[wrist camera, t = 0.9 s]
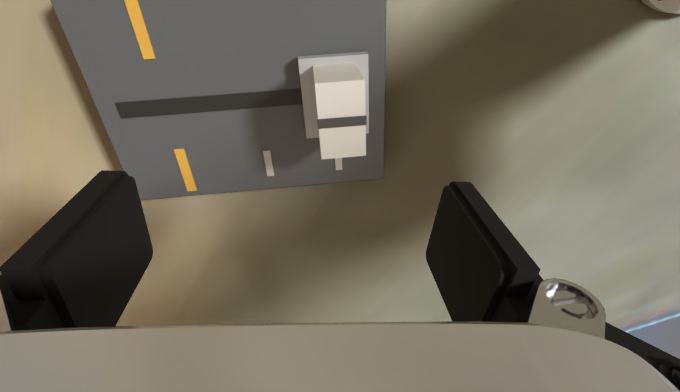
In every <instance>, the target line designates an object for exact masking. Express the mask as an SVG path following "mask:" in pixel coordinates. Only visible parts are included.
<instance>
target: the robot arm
mask: <svg viewBox="0 0 680 392" xmlns="http://www.w3.org/2000/svg"><path fill="white" fill-rule="evenodd" d="M641 1H642V2H643V3H644V4H646V5H647V6H649V7H650V8H651V9H654V10H657V11H660V12H663V13H674V14H680V0H641ZM152 254H153V249H152V244H151V240H150V236H149V232H148V229H147V225H146V221H145V217H144V213H143V209H142V205H141V201H140V197H139V193H138V189H137V185H136V182H135V179H134V178H133V177H132V176H128V174H127V173H126V172H125V171H101V172H99V173H98V174H97V175H96V176H95V177H94V178H93V179H92V180H91V181H90V182H89V183H88V184H87V185H86V186H85V187H83V188H82V189H81V190H80V191H79V192H78V193H77V194H76V195H75V196H74V197H73V198H72V199H71V200H70V201H69V202H68V203H67V204H66V205H65V206H64V207H63V208H62V209H60V210H59V211H58V212H57V213H56V214H55V215H54V216H53V217H52V218H51V219H50V220H49V221H48V222H47V223H46V224H45V225H44V226H43V227H42V228H41V229H40V230H39V231H37V232H36V233H35V234H34V235H33V236H32V237H31V238H30V239H29V240H28V241H27V242H26V243H25V244H24V245H23V246H22V247H21V248H20V249H19V250H18V251H17V252H16V253H14V254H13V255H12V256H11V257H10V258H9V259H8V260H7V261H6V262H5V263H4V264H3V265H2V266H1V267H0V271H1V273H2V275H1V276H0V392H680V359H678V358H676V357H674V356H672V355H670V354H668V353H666V352H664V351H662V350H660V349H658V348H656V347H654V346H652V345H650V344H648V343H646V342H644V341H642V340H640V339H638V338H636V337H634V336H632V335H630V334H628V333H626V332H624V331H622V330H620V329H618V328H616V327H614V326H612V325H610V324H608V323H606V322H605V321H606V314H605V309H604V307H603V306H602V304H601V303H600V301H599V300H598V299H597V298H596V297H595V296H594V295H593V294H591V293H590V292H589V291H587V290H586V289H584V288H583V287H581V286H579V285H577V284H575V283H572V282H569V281H566V280H563V279H556V278H553V279H546V280H543V279H542V278H541V276H540V275H539V274H538V273H539V271H540V268H539V267H538V266H537V265H536V263H535V262H534V261H533V260H532V258H531V257H530V256H529V255H528V253H527V252H526V251H525V250H524V248H523V247H522V246H521V245H520V243H519V242H518V241H517V240H516V238H515V237H514V236H513V235H512V233H511V232H510V231H509V230H508V228H507V227H506V226H505V225H504V223H503V222H502V221H501V220H500V218H499V217H498V216H497V215H496V213H495V212H494V211H493V210H492V208H491V207H490V206H489V205H488V203H487V202H486V201H485V200H484V198H483V197H482V196H481V195H480V193H479V192H478V191H477V190H476V188H475V187H474V186H473V185H472V184H471V183H470V182H451V183H450V184H449V186H445V187H444V189H443V192H442V195H441V199H440V203H439V206H438V210H437V214H436V217H435V221H434V224H433V228H432V232H431V235H430V239H429V243H428V246H427V250H426V259H427V263H428V265H429V267H430V270H431V272H432V274H433V277H434V279H435V281H436V284H437V286H438V288H439V291H440V293H441V296H442V298H443V300H444V303H445V305H446V307H447V310H448V312H449V314H450V317H451V319H452V321H453V322H342V323H274V324H215V325H167V326H119V327H115V326H116V324H117V322H118V320H119V318H120V316H121V315H122V313H123V311H124V309H125V307H126V305H127V304H128V302H129V300H130V298H131V296H132V294H133V292H134V291H135V289H136V287H137V285H138V283H139V281H140V280H141V278H142V276H143V274H144V272H145V270H146V268H147V267H148V265H149V263H150V261H151V259H152Z"/></svg>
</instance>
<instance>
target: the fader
mask: <svg viewBox="0 0 680 392" xmlns="http://www.w3.org/2000/svg"><path fill="white" fill-rule="evenodd" d="M298 64H299V73H300V82H301V92H302V101H303V110H304V119H305V128H306V137H307V139H308V138H319V140H320V149H321V159H333V158H345V157H356V156H366V134H367V133H369V70H368V53H367V52H366V51H365V52H352V53H338V54H324V55H310V56H298Z"/></svg>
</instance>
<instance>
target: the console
mask: <svg viewBox="0 0 680 392" xmlns="http://www.w3.org/2000/svg"><path fill="white" fill-rule="evenodd" d="M50 1H51V3H52V5H53V8H54V10H55V12H56V15H57V17H58V19H59V22H60V24H61V26H62V29H63V31H64V33H65V36H66V38H67V40H68V42H69V45H70V47H71V49H72V52H73V54H74V56H75V59H76V61H77V63H78V66H79V68H80V70H81V73H82V75H83V77H84V80H85V82H86V84H87V87H88V89H89V91H90V94H91V96H92V98H93V101H94V103H95V105H96V108H97V110H98V112H99V115H100V117H101V119H102V122H103V124H104V126H105V129H106V131H107V133H108V136H109V138H110V140H111V143H112V145H113V147H114V150H115V152H116V154H117V157H118V159H119V161H120V164H121V166H122V168H123V171H125V172H126V173H127V174H128V176H132V177H133V178H134V179H135V182H136V185H137V189H138V193H139V197H140V200H147V199H158V198H169V197H181V196H192V195H203V194H214V193H225V192H236V191H247V190H259V189H270V188H281V187H292V186H303V185H314V184H325V183H336V182H348V181H359V180H370V179H381V178H384V120H385V57H386V0H50ZM365 51H366V52H367V53H368V70H369V133H367V134H366V156H356V157H345V158H333V159H321V149H320V140H319V138H308V139H307V137H306V128H305V119H304V110H303V101H302V92H301V82H300V73H299V64H298V56H310V55H324V54H338V53H352V52H365Z"/></svg>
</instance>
